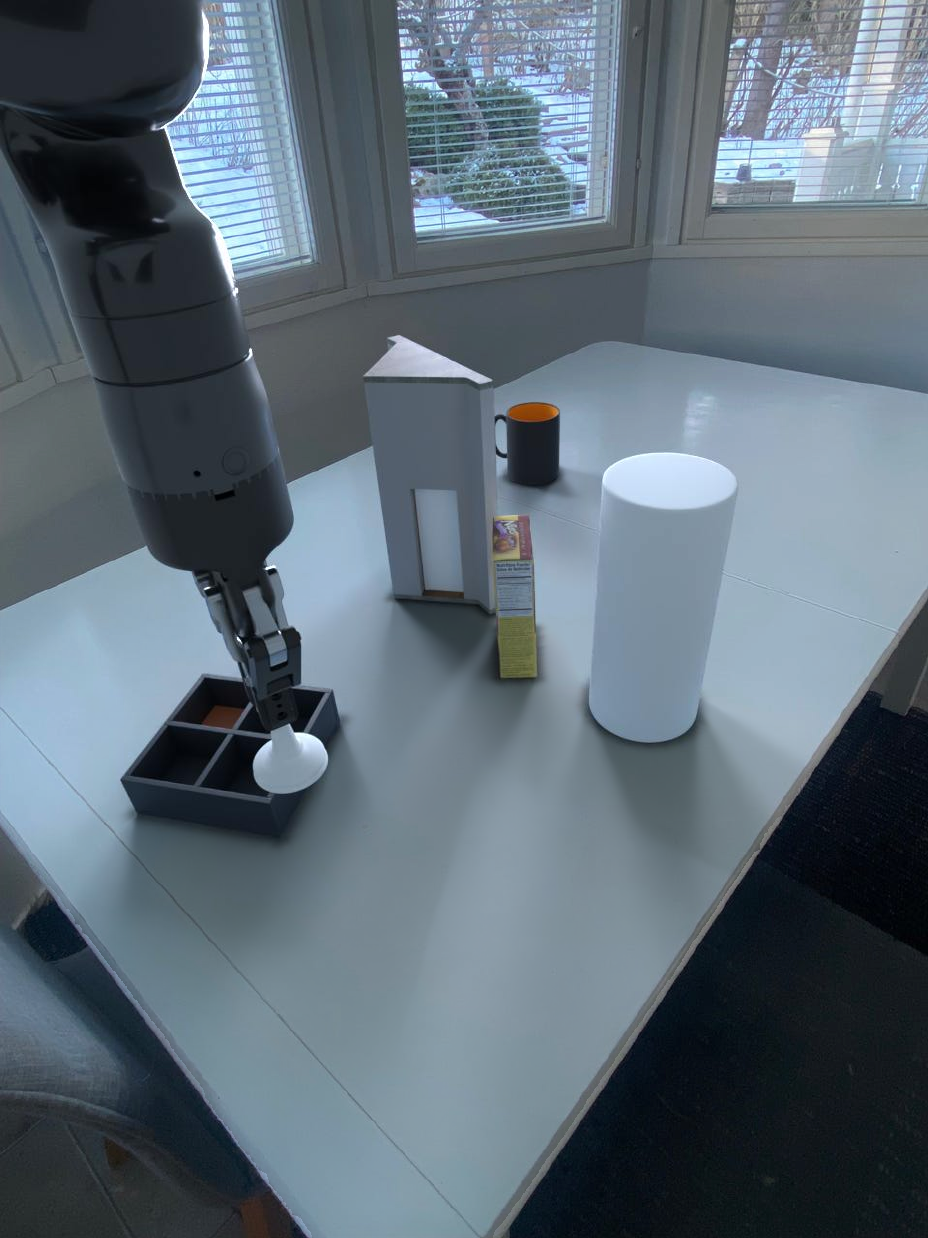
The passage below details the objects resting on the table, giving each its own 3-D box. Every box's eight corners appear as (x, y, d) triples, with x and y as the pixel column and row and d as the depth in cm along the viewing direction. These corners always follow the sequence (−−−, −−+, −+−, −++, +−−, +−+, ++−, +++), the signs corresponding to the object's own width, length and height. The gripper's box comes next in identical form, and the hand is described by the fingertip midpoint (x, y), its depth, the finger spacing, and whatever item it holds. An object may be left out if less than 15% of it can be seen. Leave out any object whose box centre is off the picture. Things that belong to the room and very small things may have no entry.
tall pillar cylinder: (658, 659, 79) (687, 442, 65) (719, 723, 71) (768, 492, 56) (570, 686, 77) (579, 466, 62) (622, 756, 69) (647, 522, 54)
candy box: (497, 629, 85) (492, 514, 76) (533, 628, 85) (533, 512, 76) (496, 680, 78) (491, 559, 69) (537, 679, 78) (537, 558, 69)
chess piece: (288, 730, 52) (256, 615, 46) (342, 754, 49) (316, 637, 44) (238, 777, 48) (196, 660, 42) (294, 805, 46) (258, 686, 40)
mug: (504, 455, 124) (503, 395, 118) (568, 468, 119) (569, 406, 112) (478, 474, 119) (475, 412, 113) (543, 489, 113) (543, 425, 107)
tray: (280, 838, 63) (269, 804, 61) (136, 813, 67) (119, 779, 64) (340, 722, 75) (333, 688, 72) (214, 705, 78) (202, 673, 75)
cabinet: (501, 610, 88) (493, 380, 72) (431, 638, 85) (406, 402, 68) (420, 539, 103) (399, 334, 87) (358, 560, 100) (323, 351, 83)
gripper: (97, 428, 39) (188, 673, 49) (150, 533, 29) (249, 811, 40) (234, 397, 42) (293, 634, 52) (324, 483, 32) (374, 754, 42)
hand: (274, 709), depth 46 cm, fingers closed on chess piece
